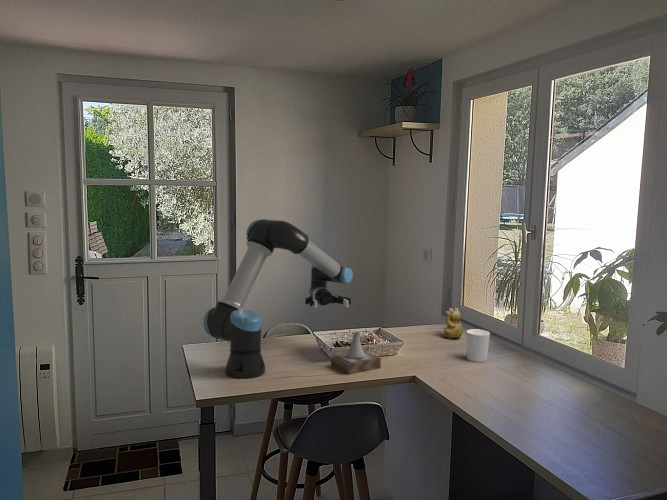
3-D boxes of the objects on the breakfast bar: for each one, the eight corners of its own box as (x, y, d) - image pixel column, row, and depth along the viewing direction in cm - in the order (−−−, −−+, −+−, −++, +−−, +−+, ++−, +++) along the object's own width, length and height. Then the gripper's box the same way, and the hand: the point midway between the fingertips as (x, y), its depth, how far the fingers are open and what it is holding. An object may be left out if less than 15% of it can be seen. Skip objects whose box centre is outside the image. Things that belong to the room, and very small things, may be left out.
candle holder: (493, 361, 231) (494, 334, 230) (474, 363, 228) (475, 335, 226) (479, 355, 240) (480, 328, 239) (460, 357, 237) (461, 330, 236)
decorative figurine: (453, 335, 274) (454, 305, 273) (466, 338, 268) (468, 308, 267) (440, 337, 268) (442, 308, 267) (454, 341, 262) (455, 310, 260)
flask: (365, 354, 222) (365, 330, 221) (364, 359, 215) (365, 335, 214) (347, 353, 223) (348, 329, 222) (346, 358, 216) (347, 334, 215)
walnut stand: (347, 374, 210) (348, 363, 210) (330, 366, 220) (331, 355, 220) (380, 368, 219) (380, 357, 219) (362, 360, 229) (363, 350, 228)
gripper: (348, 304, 253) (360, 313, 233) (295, 304, 248) (302, 313, 227) (348, 288, 253) (360, 295, 232) (295, 287, 247) (303, 295, 227)
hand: (332, 304), depth 230 cm, fingers open, 13 cm apart
